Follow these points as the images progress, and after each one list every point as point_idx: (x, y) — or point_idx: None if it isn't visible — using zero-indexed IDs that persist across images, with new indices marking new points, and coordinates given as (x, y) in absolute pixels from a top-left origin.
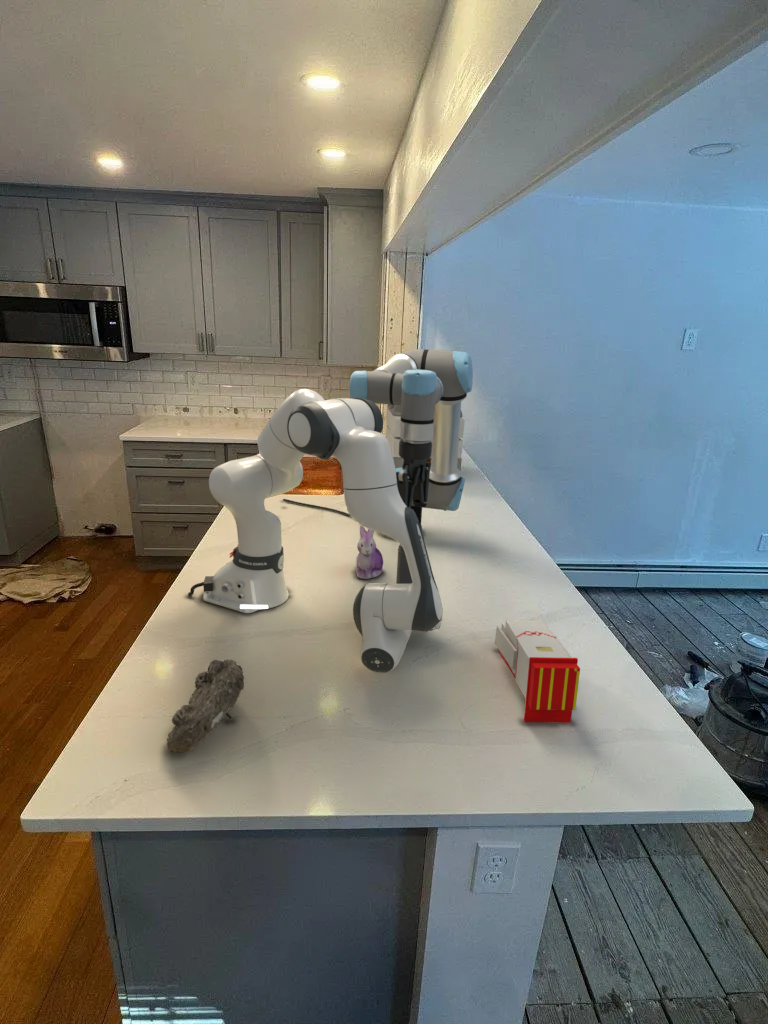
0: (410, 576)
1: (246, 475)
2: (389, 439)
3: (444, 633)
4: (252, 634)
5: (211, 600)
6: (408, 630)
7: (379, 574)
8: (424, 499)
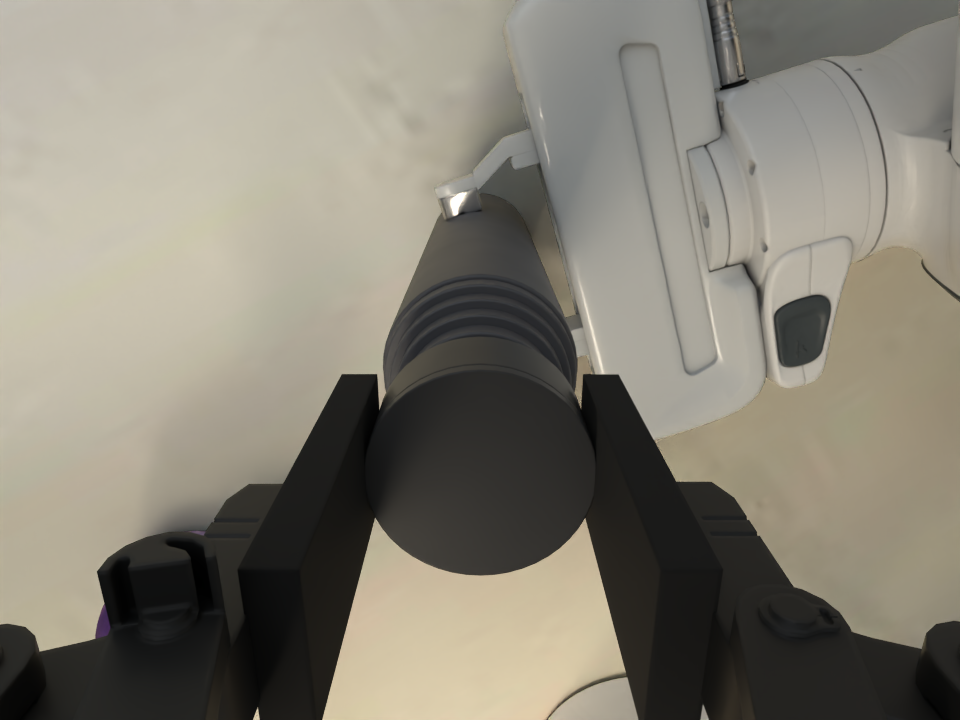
0: (535, 259)
1: None
2: None
3: (475, 18)
4: (864, 632)
5: None
6: (856, 58)
7: (195, 531)
8: (16, 697)
